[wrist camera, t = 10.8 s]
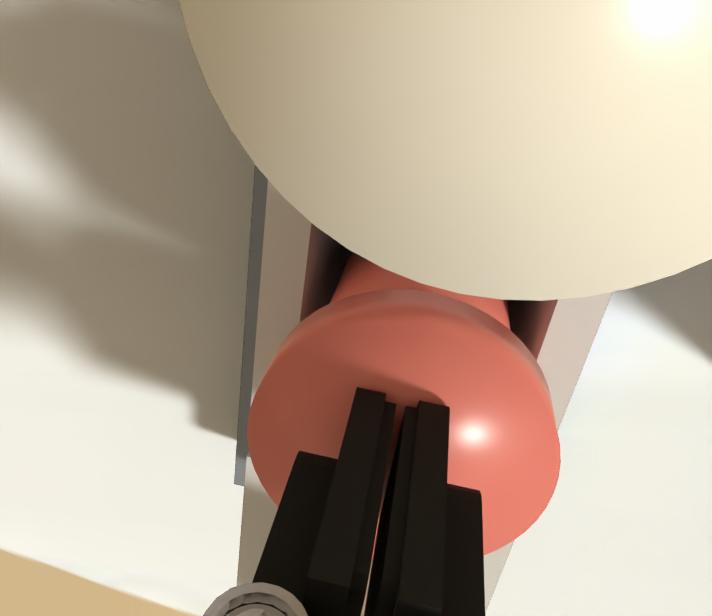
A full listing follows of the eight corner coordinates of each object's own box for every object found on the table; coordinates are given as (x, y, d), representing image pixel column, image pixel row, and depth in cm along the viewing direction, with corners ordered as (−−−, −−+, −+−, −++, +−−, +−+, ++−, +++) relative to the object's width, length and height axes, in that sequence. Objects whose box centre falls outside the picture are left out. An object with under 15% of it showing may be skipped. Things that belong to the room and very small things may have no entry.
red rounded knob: (549, 196, 17) (607, 364, 10) (496, 365, 20) (511, 594, 12) (345, 156, 17) (256, 291, 10) (322, 329, 20) (239, 529, 13)
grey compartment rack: (775, -227, 16) (1109, -436, 8) (505, 503, 29) (519, 720, 20) (311, -292, 17) (154, -546, 8) (251, 445, 29) (166, 632, 21)
